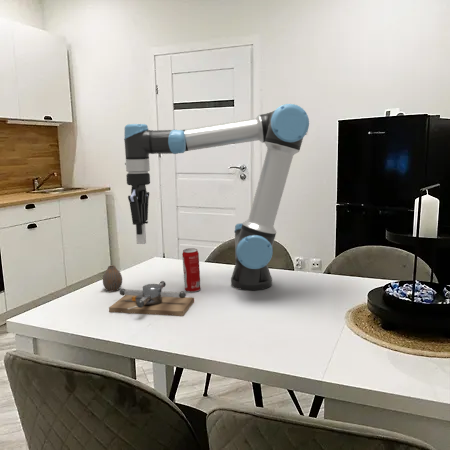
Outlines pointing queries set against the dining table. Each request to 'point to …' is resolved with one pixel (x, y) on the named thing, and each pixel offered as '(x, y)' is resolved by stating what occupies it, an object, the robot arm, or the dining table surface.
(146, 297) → the cam capstan
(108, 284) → the vase
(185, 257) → the beverage can
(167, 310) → the brown wooden board
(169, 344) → the dining table surface
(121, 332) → the dining table surface
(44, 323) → the dining table surface
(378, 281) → the dining table surface
